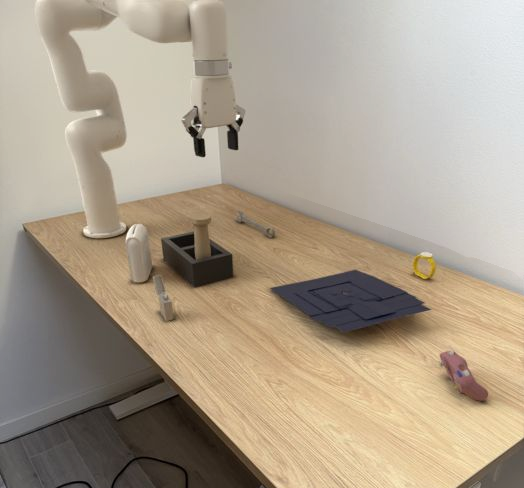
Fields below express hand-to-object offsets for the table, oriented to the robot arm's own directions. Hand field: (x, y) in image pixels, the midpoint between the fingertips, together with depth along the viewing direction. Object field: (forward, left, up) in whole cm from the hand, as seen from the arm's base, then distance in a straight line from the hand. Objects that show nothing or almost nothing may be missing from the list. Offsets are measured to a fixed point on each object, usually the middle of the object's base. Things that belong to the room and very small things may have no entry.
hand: (217, 152), depth 119 cm
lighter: (+18, -24, -28) cm, 40 cm away
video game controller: (+70, +9, -28) cm, 76 cm away
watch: (+35, +36, -28) cm, 57 cm away
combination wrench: (-17, +19, -28) cm, 38 cm away
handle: (+4, -8, -28) cm, 29 cm away
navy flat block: (+37, +11, -28) cm, 47 cm away
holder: (0, -8, -27) cm, 28 cm away
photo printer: (-4, -21, -28) cm, 35 cm away
